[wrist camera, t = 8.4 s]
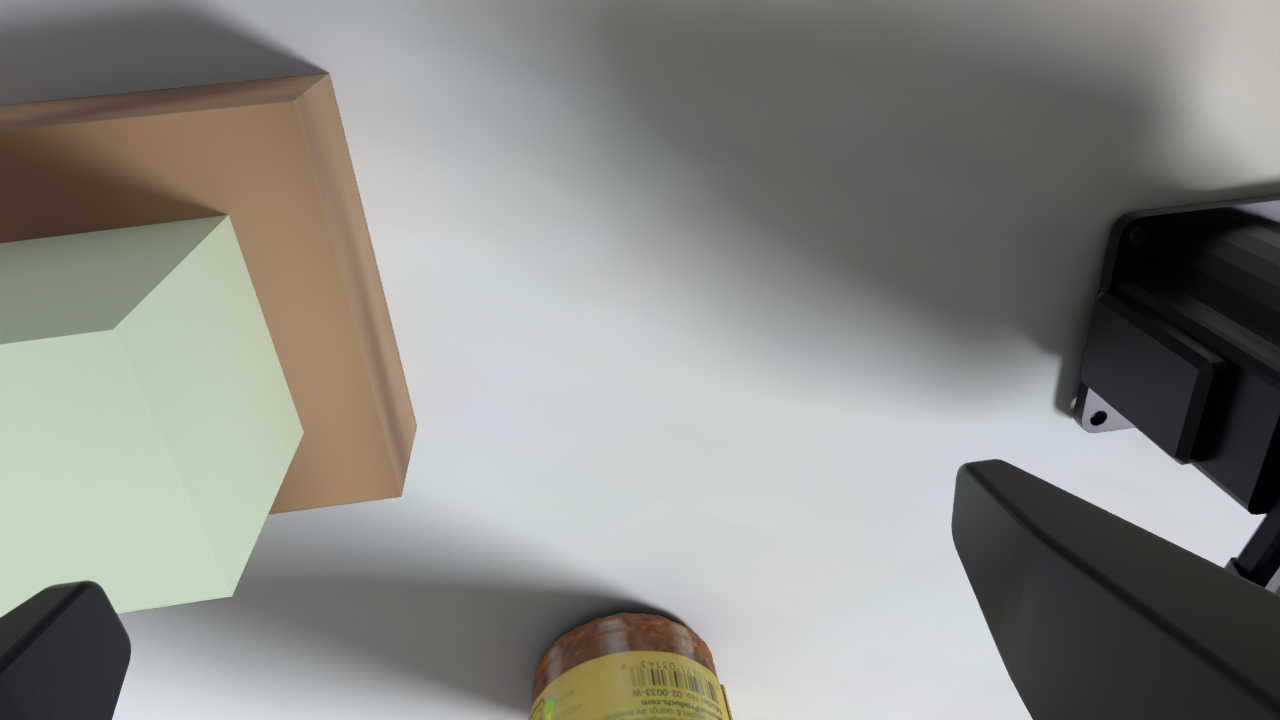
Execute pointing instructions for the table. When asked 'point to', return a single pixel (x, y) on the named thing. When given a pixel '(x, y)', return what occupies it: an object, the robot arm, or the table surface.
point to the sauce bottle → (628, 673)
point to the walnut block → (242, 243)
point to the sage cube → (136, 414)
